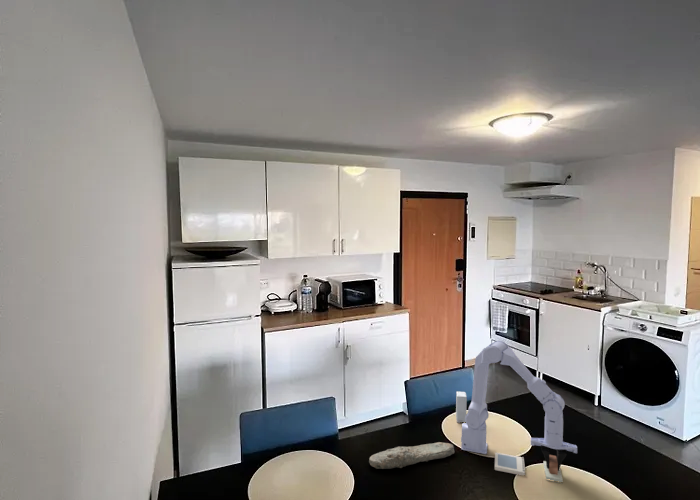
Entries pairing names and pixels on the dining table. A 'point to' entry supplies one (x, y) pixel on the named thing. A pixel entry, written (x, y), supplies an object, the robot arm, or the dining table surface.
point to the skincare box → (461, 406)
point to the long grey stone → (410, 455)
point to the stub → (553, 469)
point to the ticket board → (509, 463)
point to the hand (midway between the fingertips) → (552, 468)
